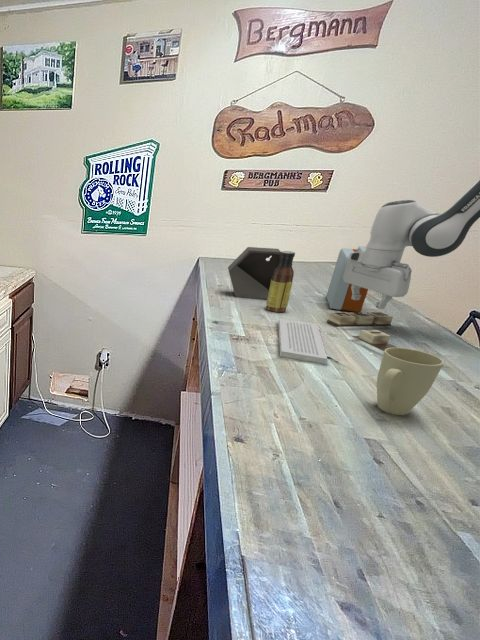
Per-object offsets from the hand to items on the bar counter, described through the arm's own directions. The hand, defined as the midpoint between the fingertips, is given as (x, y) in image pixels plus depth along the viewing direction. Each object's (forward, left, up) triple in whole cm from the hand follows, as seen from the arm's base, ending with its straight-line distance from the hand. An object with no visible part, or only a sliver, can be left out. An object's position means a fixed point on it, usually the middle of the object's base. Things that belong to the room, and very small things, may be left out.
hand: (367, 303), depth 140 cm
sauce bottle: (+17, -16, -7) cm, 25 cm away
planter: (+15, -34, -7) cm, 38 cm away
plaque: (+28, +13, -7) cm, 32 cm away
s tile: (0, 0, -6) cm, 6 cm away
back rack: (0, 0, -7) cm, 7 cm away
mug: (+35, +52, -7) cm, 63 cm away
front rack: (+9, +20, -7) cm, 23 cm away
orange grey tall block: (-11, -21, -7) cm, 25 cm away
